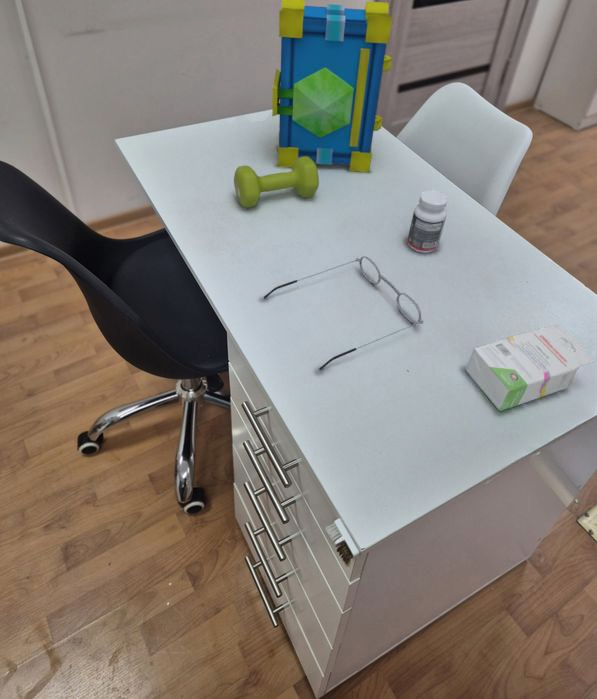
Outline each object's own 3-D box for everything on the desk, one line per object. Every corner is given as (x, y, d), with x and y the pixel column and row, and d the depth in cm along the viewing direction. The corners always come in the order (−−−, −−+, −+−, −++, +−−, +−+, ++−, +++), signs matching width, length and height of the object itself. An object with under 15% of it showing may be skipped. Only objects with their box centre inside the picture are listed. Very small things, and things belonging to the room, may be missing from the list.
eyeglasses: (423, 330, 85) (428, 311, 82) (320, 374, 78) (321, 355, 75) (358, 266, 96) (361, 248, 93) (263, 300, 89) (262, 281, 86)
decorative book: (275, 141, 127) (278, -8, 106) (373, 148, 127) (396, 0, 106) (271, 172, 117) (272, 13, 96) (377, 178, 118) (403, 22, 96)
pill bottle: (413, 232, 104) (425, 185, 97) (442, 242, 102) (455, 194, 95) (402, 247, 100) (412, 199, 93) (430, 257, 99) (444, 209, 91)
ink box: (499, 413, 74) (583, 385, 79) (510, 390, 71) (598, 362, 75) (463, 369, 80) (544, 345, 84) (472, 345, 76) (556, 321, 80)
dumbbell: (243, 215, 105) (242, 181, 100) (231, 194, 110) (229, 161, 105) (321, 201, 110) (324, 168, 105) (306, 182, 115) (308, 149, 110)
